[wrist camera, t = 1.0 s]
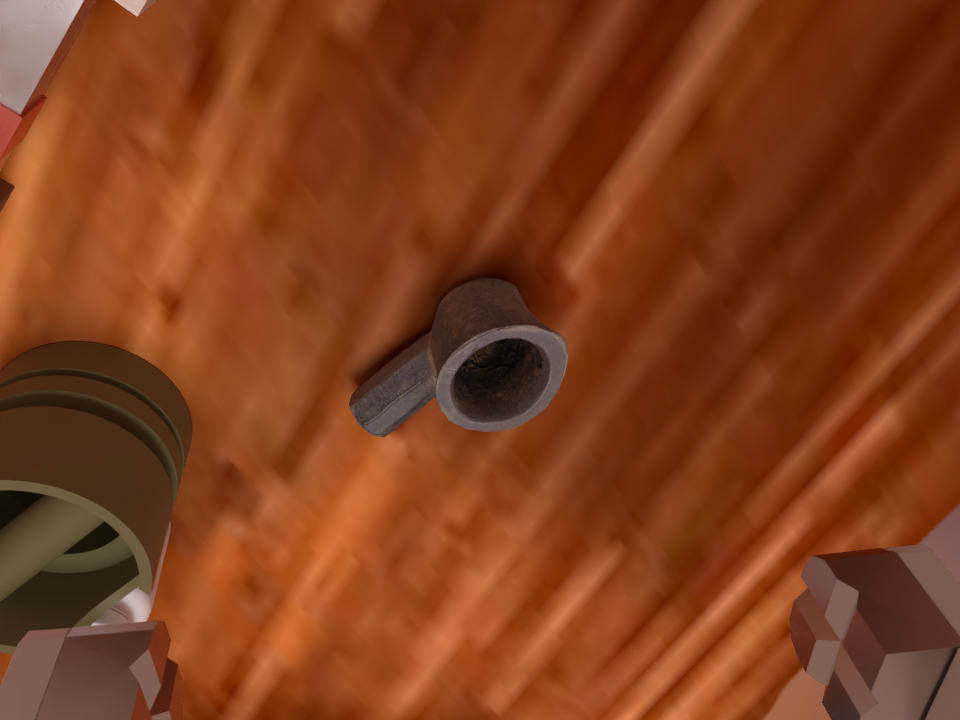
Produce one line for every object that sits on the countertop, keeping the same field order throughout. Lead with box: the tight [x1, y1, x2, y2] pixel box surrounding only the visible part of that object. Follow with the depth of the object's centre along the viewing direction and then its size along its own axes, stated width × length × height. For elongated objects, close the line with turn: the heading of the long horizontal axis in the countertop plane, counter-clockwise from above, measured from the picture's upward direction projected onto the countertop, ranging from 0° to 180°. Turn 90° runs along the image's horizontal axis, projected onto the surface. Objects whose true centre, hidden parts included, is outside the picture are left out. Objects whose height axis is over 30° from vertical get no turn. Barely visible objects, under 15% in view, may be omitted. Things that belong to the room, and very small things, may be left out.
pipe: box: [349, 278, 568, 437], centre depth 46 cm, size 6×13×8 cm, turn 129°
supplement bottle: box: [91, 522, 171, 626], centre depth 49 cm, size 5×5×10 cm
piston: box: [0, 341, 192, 654], centre depth 44 cm, size 11×12×11 cm
